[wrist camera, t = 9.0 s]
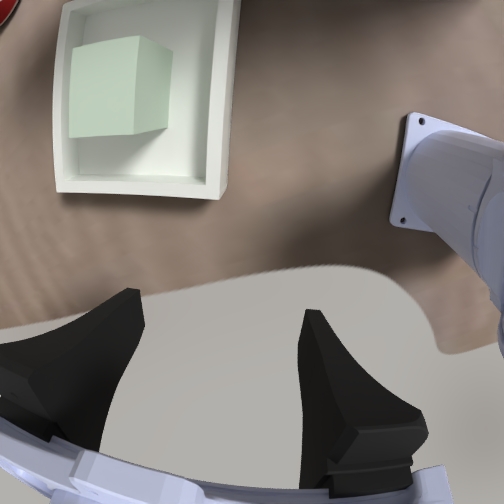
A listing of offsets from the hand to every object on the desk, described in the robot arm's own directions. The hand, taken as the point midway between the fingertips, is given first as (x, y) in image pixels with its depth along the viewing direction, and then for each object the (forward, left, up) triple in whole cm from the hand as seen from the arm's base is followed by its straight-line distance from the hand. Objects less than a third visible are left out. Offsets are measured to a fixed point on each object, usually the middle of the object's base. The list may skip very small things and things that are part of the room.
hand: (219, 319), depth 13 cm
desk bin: (+7, -10, -9) cm, 15 cm away
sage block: (+7, -10, -8) cm, 15 cm away
